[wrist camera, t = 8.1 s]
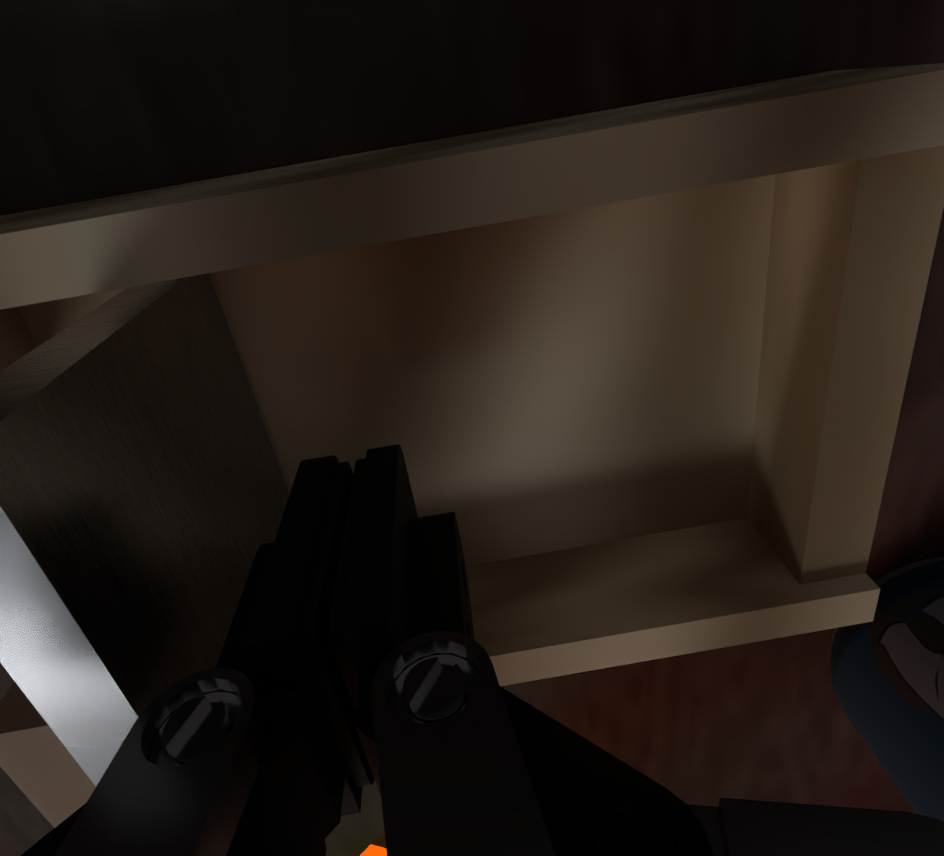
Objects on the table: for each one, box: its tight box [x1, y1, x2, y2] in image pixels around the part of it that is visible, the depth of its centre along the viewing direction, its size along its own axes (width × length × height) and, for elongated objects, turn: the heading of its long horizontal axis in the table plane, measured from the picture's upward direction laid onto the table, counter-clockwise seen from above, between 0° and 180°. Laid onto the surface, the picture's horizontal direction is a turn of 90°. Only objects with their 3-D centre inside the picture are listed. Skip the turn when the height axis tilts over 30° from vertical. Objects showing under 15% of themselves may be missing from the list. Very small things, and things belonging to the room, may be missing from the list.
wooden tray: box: [0, 63, 944, 828], centre depth 12 cm, size 18×12×6 cm, turn 99°
